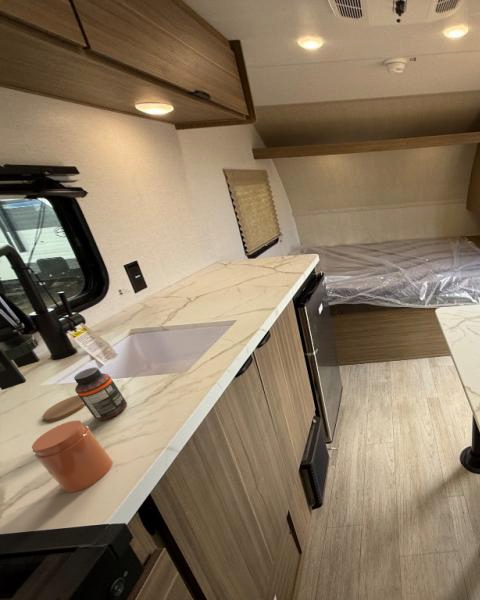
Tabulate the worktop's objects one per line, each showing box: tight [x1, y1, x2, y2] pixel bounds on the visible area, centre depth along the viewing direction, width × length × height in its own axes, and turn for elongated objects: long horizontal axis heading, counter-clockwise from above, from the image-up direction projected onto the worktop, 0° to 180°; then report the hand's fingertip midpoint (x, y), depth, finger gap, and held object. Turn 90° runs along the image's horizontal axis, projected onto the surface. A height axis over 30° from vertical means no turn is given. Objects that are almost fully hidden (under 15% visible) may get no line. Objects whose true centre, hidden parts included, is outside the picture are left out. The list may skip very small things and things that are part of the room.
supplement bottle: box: [73, 366, 128, 421], centre depth 71 cm, size 6×6×11 cm
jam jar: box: [31, 419, 113, 493], centre depth 55 cm, size 7×7×10 cm
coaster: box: [42, 394, 86, 422], centre depth 76 cm, size 8×8×1 cm
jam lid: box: [0, 333, 39, 361], centre depth 54 cm, size 8×8×2 cm
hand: (22, 373), depth 56 cm, fingers closed on jam lid, 8 cm apart
